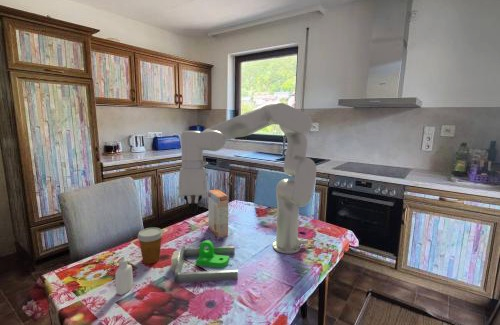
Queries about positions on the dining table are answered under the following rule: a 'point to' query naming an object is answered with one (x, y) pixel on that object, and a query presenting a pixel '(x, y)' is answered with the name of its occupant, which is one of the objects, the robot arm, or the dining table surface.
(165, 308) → the dining table surface
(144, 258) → the disposable coffee cup
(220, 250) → the drawer frame
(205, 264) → the mechanical part
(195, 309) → the dining table surface
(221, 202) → the cracker box
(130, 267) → the eye dropper bottle
